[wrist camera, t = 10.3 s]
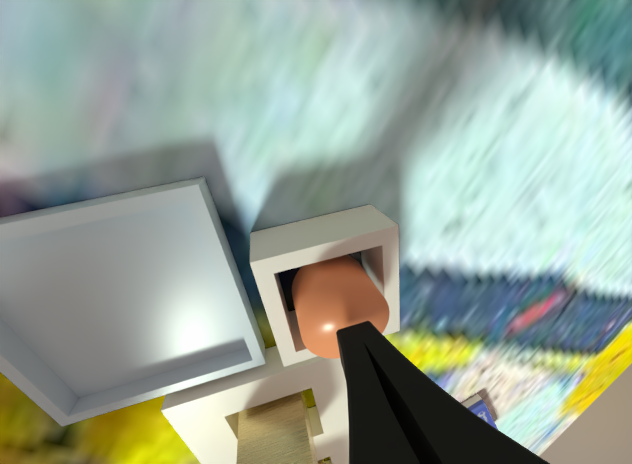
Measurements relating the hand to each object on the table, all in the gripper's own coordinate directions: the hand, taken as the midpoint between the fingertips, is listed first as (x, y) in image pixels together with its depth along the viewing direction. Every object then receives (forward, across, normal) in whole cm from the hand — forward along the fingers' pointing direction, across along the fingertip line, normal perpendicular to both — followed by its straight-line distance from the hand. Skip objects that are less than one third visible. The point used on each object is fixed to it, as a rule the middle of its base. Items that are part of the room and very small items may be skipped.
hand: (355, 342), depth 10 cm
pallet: (+6, +5, +14) cm, 16 cm away
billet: (+6, +5, +10) cm, 12 cm away
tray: (+6, +10, -1) cm, 11 cm away
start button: (+4, 0, 0) cm, 4 cm away
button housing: (+6, 0, 0) cm, 6 cm away
